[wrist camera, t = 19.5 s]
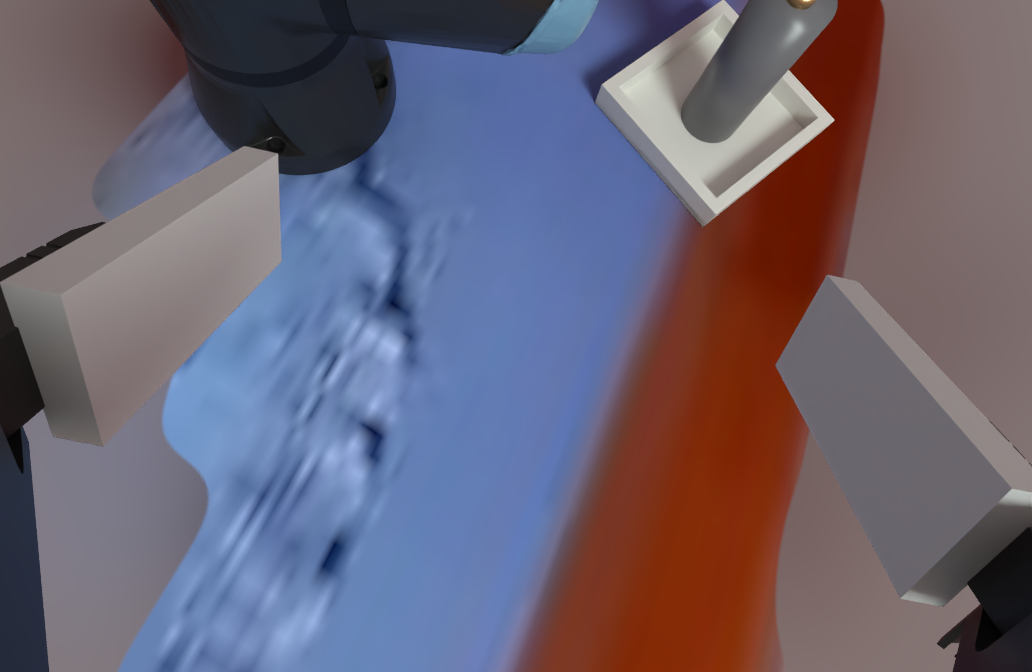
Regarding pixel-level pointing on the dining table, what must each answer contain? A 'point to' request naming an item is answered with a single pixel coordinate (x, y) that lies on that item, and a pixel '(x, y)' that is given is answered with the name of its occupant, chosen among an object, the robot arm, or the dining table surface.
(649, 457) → the dining table surface
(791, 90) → the tray
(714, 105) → the charcoal cell
